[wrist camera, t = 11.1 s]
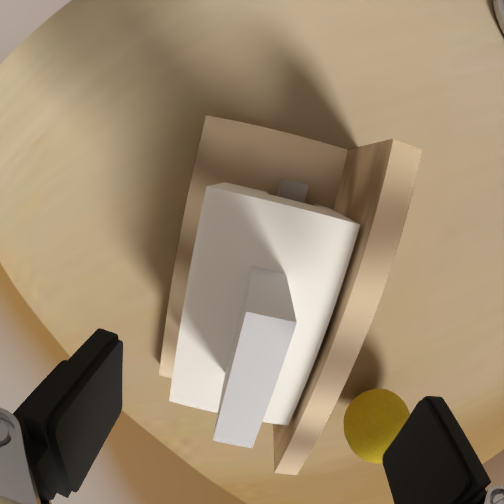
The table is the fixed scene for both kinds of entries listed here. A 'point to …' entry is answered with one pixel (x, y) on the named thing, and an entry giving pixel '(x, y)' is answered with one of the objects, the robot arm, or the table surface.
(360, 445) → the lemon
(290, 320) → the white stepped block
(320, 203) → the cleat board
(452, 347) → the table surface
